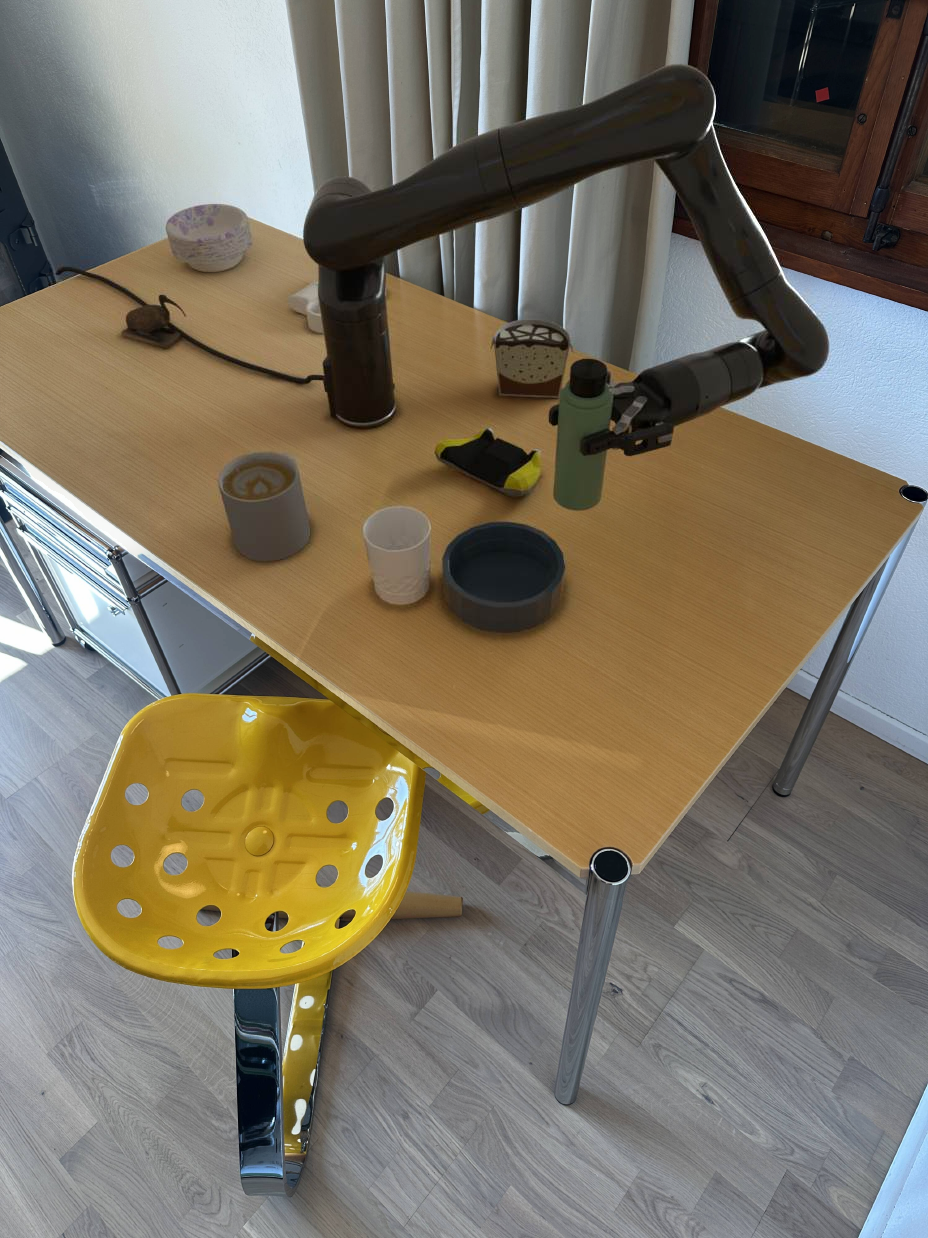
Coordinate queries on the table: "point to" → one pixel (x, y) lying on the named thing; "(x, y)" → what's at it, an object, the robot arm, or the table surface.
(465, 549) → the dark blue bowl
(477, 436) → the black and yellow shoe
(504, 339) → the food container
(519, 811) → the table surface
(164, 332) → the figurine
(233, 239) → the paper bowls
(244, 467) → the coffee mug
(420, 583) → the white cup
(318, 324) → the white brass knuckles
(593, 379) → the bottle
